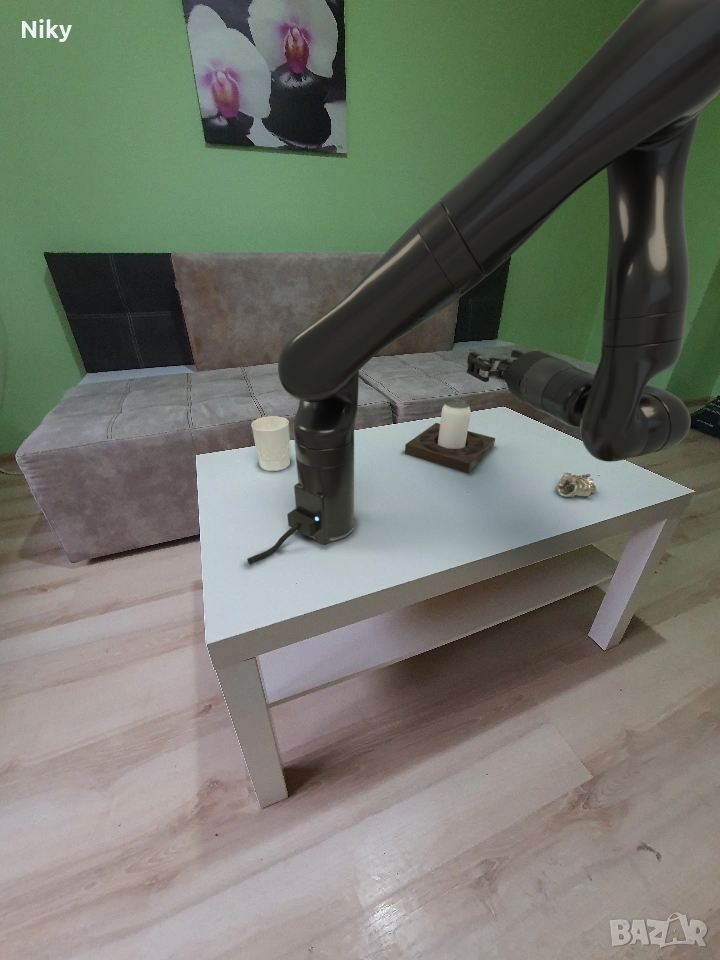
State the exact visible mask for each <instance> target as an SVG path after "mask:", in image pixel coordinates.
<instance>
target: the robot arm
mask: <svg viewBox="0 0 720 960" xmlns="http://www.w3.org/2000/svg"><path fill="white" fill-rule="evenodd" d="M719 93H720V0H641V1H640V2H639V3H638V4H637V5H636V6H635V7H634V8H633V10H632V11H631V12H630V13H629V14H628V15H627V16H626V17H625V19H623V21H622V22H621V23H620V24H619V25H618V26H617V28H615V29H614V31H613V32H612V33H611V34H610V35H609V36H608V38H606V40H605V41H604V42H603V43H602V44H601V45H600V47H599V48H598V49H596V51H595V52H594V53H593V54H592V55H590V57H589V58H588V59H587V61H586V62H584V64H583V65H582V66H581V67H580V68H579V69H578V70H577V72H575V74H573V76H572V77H571V78H570V79H568V81H567V82H566V83H565V84H564V85H563V86H562V88H561V89H559V91H558V92H556V93H555V95H554V96H553V97H552V98H551V99H550V100H549V101H548V102H547V103H546V104H545V105H544V106H543V107H542V108H541V109H540V110H539V111H538V112H537V113H535V115H534V116H532V117H531V118H530V119H529V120H528V121H526V123H525V124H523V125H522V126H521V127H520V128H519V129H517V130H516V131H515V132H513V134H511V135H510V136H509V137H508V138H506V139H505V140H504V141H503V142H502V143H501V144H500V145H498V146H496V148H495V149H494V150H493V151H491V152H490V153H489V154H488V155H487V156H486V157H485V158H484V159H482V160H481V161H480V162H479V163H478V164H477V165H476V166H475V167H474V168H473V169H472V170H470V172H468V173H467V174H466V175H465V176H464V177H462V179H461V180H460V181H458V182H457V183H456V184H455V185H454V186H452V188H450V189H449V190H448V191H446V193H445V194H443V195H442V196H441V197H440V198H439V199H438V200H437V201H436V202H435V203H434V204H433V205H431V206H430V208H428V210H426V211H425V212H424V213H423V214H422V215H421V216H420V217H419V218H418V219H416V221H415V222H413V224H412V225H410V226H409V228H408V229H407V230H405V232H404V233H403V234H402V235H401V236H400V237H399V238H398V239H397V240H396V241H395V242H394V243H393V244H392V245H391V246H390V247H389V248H388V249H387V250H386V251H385V252H384V254H383V255H382V256H381V257H380V258H379V259H378V260H377V261H376V262H375V263H374V265H372V266H371V268H370V269H369V270H368V272H366V273H365V275H363V277H362V278H361V279H360V281H359V282H358V283H357V284H356V285H355V287H353V289H351V290H350V292H349V293H347V294H346V295H345V296H344V297H343V298H342V299H341V300H340V301H339V302H338V303H336V304H335V305H334V306H333V307H331V308H330V309H329V310H327V311H326V312H325V313H324V314H322V315H321V316H320V317H319V318H317V319H316V320H315V321H313V322H311V323H310V324H309V325H308V326H306V327H304V328H303V329H302V330H301V331H298V332H297V333H295V334H293V336H291V337H290V338H289V339H288V340H287V341H286V343H285V344H284V345H283V347H282V349H281V351H280V353H279V357H278V362H277V374H278V379H279V381H280V384H281V386H282V387H283V389H284V390H285V392H286V393H287V394H288V395H289V396H291V397H293V398H294V399H296V400H298V401H299V402H298V407H297V411H296V414H295V416H294V419H293V424H292V428H293V430H292V431H293V439H294V440H293V441H294V451H295V463H296V472H297V473H296V474H297V483H296V484H294V486H293V491H294V500H295V501H294V502H295V508H294V509H292V510H291V511H289V512H288V513H287V514H286V515H287V524H288V527H290V528H289V529H288V530H287V531H286V532H285V533H283V534H282V536H280V537H279V539H278V540H277V542H276V543H275V544H274V545H273V546H271V547H270V548H268V549H267V550H265V551H262V552H260V553H257V554H255V555H252V556H250V557H248V558H247V562H248V564H249V565H250V564H252V563H254V562H257V561H259V560H262V559H265V558H267V557H269V556H270V555H272V554H274V553H276V552H277V551H278V550H279V549H280V548H281V547H282V545H283V544H284V542H285V541H286V540H288V539H289V537H291V536H292V535H293V534H294V533H296V532H299V533H300V534H302V535H304V536H306V537H308V538H309V539H312V540H314V541H316V542H318V543H319V544H322V545H327V544H328V543H330V542H335V541H339V540H342V539H344V538H346V537H348V536H349V535H351V533H353V531H354V529H355V526H356V518H355V427H356V420H357V416H358V407H359V380H360V379H359V378H360V374H359V373H360V370H361V369H362V368H364V366H365V365H366V364H367V363H368V362H370V360H371V359H373V358H374V357H375V356H376V355H378V354H379V353H380V352H381V351H382V350H384V349H385V348H386V347H387V346H389V345H390V344H392V343H394V342H395V341H396V340H399V339H400V338H402V337H403V336H404V335H406V334H408V333H410V332H411V331H413V330H414V329H416V328H417V327H419V326H421V325H422V324H424V323H425V322H427V321H428V320H430V319H431V318H433V317H434V316H436V315H437V314H438V313H440V312H442V311H443V310H444V309H445V308H447V307H449V306H450V305H451V304H453V303H454V302H456V301H457V300H459V299H460V298H462V296H464V295H465V294H466V293H468V292H469V291H471V290H472V289H473V288H474V287H475V286H477V285H478V284H480V283H481V282H482V281H483V280H484V279H486V277H488V276H490V275H491V274H492V273H493V272H495V270H497V269H498V268H499V267H500V266H502V264H503V263H505V262H506V261H507V260H508V259H509V258H510V257H511V256H512V255H514V254H515V253H516V252H517V251H518V250H519V249H520V248H521V247H522V246H523V245H524V244H525V243H526V242H527V241H528V240H529V239H530V238H531V237H533V235H534V234H535V233H536V232H537V231H539V229H541V228H542V226H543V225H544V224H545V223H546V222H547V221H548V220H549V219H550V218H551V217H552V216H553V215H554V213H556V212H557V211H558V209H560V207H562V205H564V203H565V202H567V201H568V200H569V198H571V197H572V196H573V195H574V194H575V193H576V192H577V191H578V190H580V189H581V188H582V187H583V186H584V185H586V184H587V183H588V182H589V181H591V180H592V179H594V177H596V176H597V175H598V174H600V173H601V172H602V171H604V170H605V169H606V176H607V177H606V178H607V195H608V247H607V261H606V262H607V263H606V273H605V275H606V276H605V287H604V288H605V289H604V299H603V300H604V301H603V304H604V305H603V315H602V332H601V346H600V347H601V348H600V350H601V351H600V359H599V362H598V366H597V368H596V371H595V373H594V374H593V373H591V372H588V371H586V370H584V369H581V368H579V367H577V366H575V365H574V364H573V363H570V362H568V361H566V360H563V359H561V358H558V357H556V356H554V355H551V354H548V353H545V352H543V351H540V350H532V351H531V350H530V351H528V352H523V351H521V350H518V349H512V351H511V354H510V356H508V357H505V356H500V355H491V356H490V357H487V356H483V355H481V354H479V353H477V352H475V351H470V352H469V354H468V355H467V359H466V363H467V369H466V374H468V375H471V376H472V377H473V378H476V379H477V380H479V381H481V382H483V383H487V382H490V379H495V380H500V381H501V382H503V383H505V384H506V386H507V389H508V391H509V393H511V395H512V396H514V397H516V398H517V399H519V400H521V401H522V402H524V403H525V404H527V405H529V406H531V407H532V408H534V409H535V410H537V411H539V412H541V413H544V414H547V415H549V416H551V417H553V418H554V419H556V420H557V421H559V422H561V423H562V424H564V425H566V426H568V427H572V428H575V429H579V432H580V433H579V435H580V438H581V442H582V443H583V446H584V448H585V450H586V451H587V452H588V453H589V454H590V455H591V456H592V457H593V458H595V459H596V460H598V461H601V462H607V463H611V462H619V461H624V460H629V459H632V458H637V457H641V456H642V457H643V456H645V455H650V454H655V453H659V452H663V451H666V450H668V449H671V448H673V447H676V446H678V444H680V443H681V442H682V441H683V440H684V439H685V438H686V436H687V435H688V433H689V431H690V429H691V424H692V423H691V422H692V419H691V414H690V411H689V409H688V407H687V406H686V404H685V403H684V402H683V401H682V399H680V398H679V397H678V396H676V395H675V394H674V393H671V392H670V391H667V390H665V389H662V388H660V387H656V386H652V385H648V384H649V382H651V380H652V379H653V378H655V377H656V376H658V375H660V374H662V373H663V372H666V371H667V370H669V369H671V368H672V367H674V366H675V365H676V364H677V362H678V361H679V359H680V356H681V352H682V348H683V341H684V335H685V327H686V318H687V311H688V303H689V293H690V261H689V251H688V243H687V241H688V240H687V235H686V233H687V232H686V227H685V213H684V203H685V201H684V200H685V199H684V197H685V196H684V195H685V184H686V175H687V168H688V164H689V163H688V161H689V158H690V153H691V149H692V144H693V141H694V137H695V133H696V130H697V126H698V123H699V119H700V116H701V112H702V111H703V109H705V107H707V106H708V104H710V102H712V100H714V98H716V97H717V96H718V94H719ZM496 362H498V364H497V366H496ZM495 367H496V368H495Z"/></svg>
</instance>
